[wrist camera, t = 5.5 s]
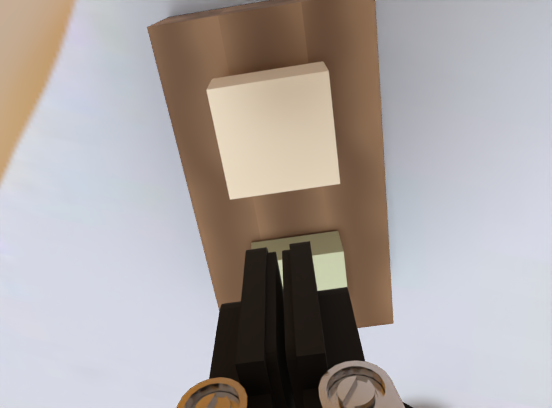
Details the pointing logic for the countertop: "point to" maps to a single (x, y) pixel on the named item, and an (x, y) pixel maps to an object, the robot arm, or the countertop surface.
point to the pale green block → (315, 257)
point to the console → (348, 131)
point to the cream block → (275, 130)
